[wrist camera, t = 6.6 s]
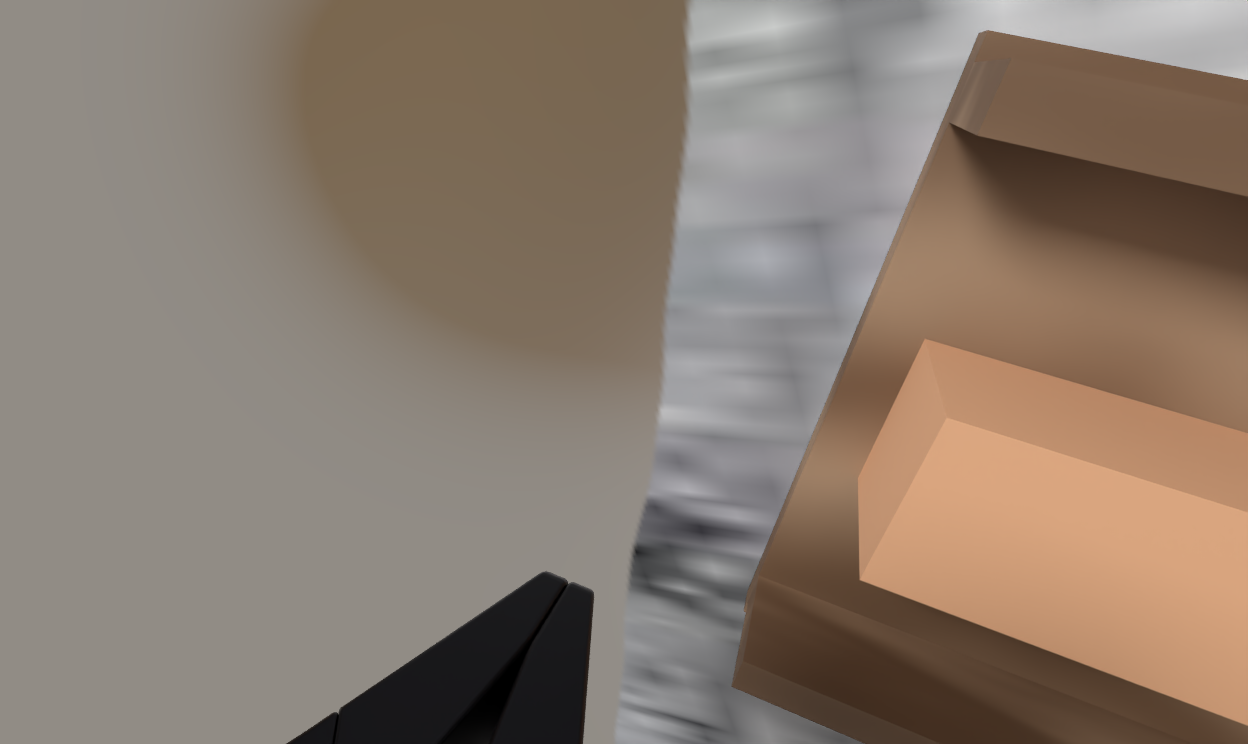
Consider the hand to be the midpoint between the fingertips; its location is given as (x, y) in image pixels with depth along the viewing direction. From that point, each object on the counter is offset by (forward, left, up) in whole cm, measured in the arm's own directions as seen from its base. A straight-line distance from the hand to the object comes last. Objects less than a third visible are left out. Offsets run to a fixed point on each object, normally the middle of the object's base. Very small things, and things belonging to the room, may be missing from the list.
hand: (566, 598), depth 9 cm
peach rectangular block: (0, -10, -10) cm, 14 cm away
